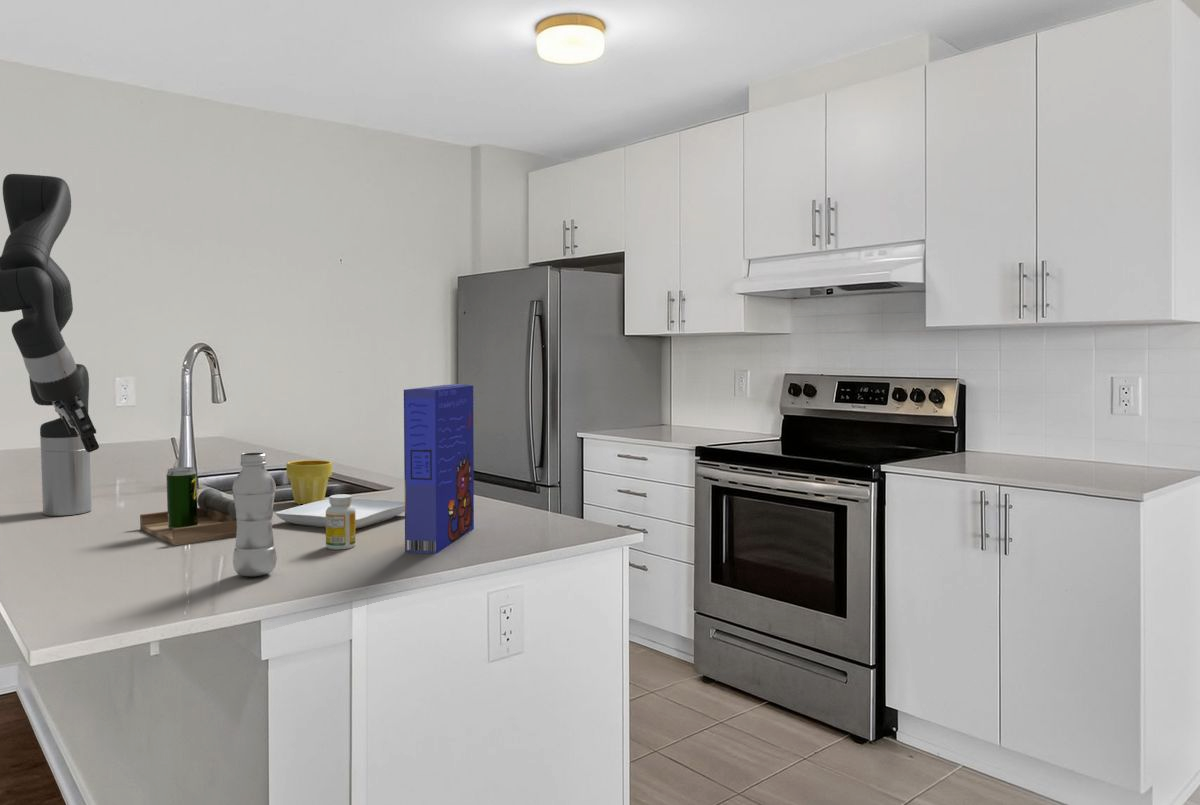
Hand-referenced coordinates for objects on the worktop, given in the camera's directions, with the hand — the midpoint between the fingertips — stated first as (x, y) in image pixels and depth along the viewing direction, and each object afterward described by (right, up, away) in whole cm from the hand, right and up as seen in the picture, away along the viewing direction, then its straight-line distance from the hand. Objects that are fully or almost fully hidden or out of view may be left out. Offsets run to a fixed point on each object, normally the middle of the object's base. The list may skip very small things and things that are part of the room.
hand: (84, 441), depth 166 cm
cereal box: (+70, -19, 0) cm, 72 cm away
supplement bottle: (+52, -20, -6) cm, 56 cm away
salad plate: (+46, -18, +18) cm, 52 cm away
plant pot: (+31, -17, +39) cm, 52 cm away
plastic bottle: (+44, -21, -27) cm, 56 cm away
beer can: (+17, -18, +4) cm, 25 cm away
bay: (+19, -18, +6) cm, 27 cm away
